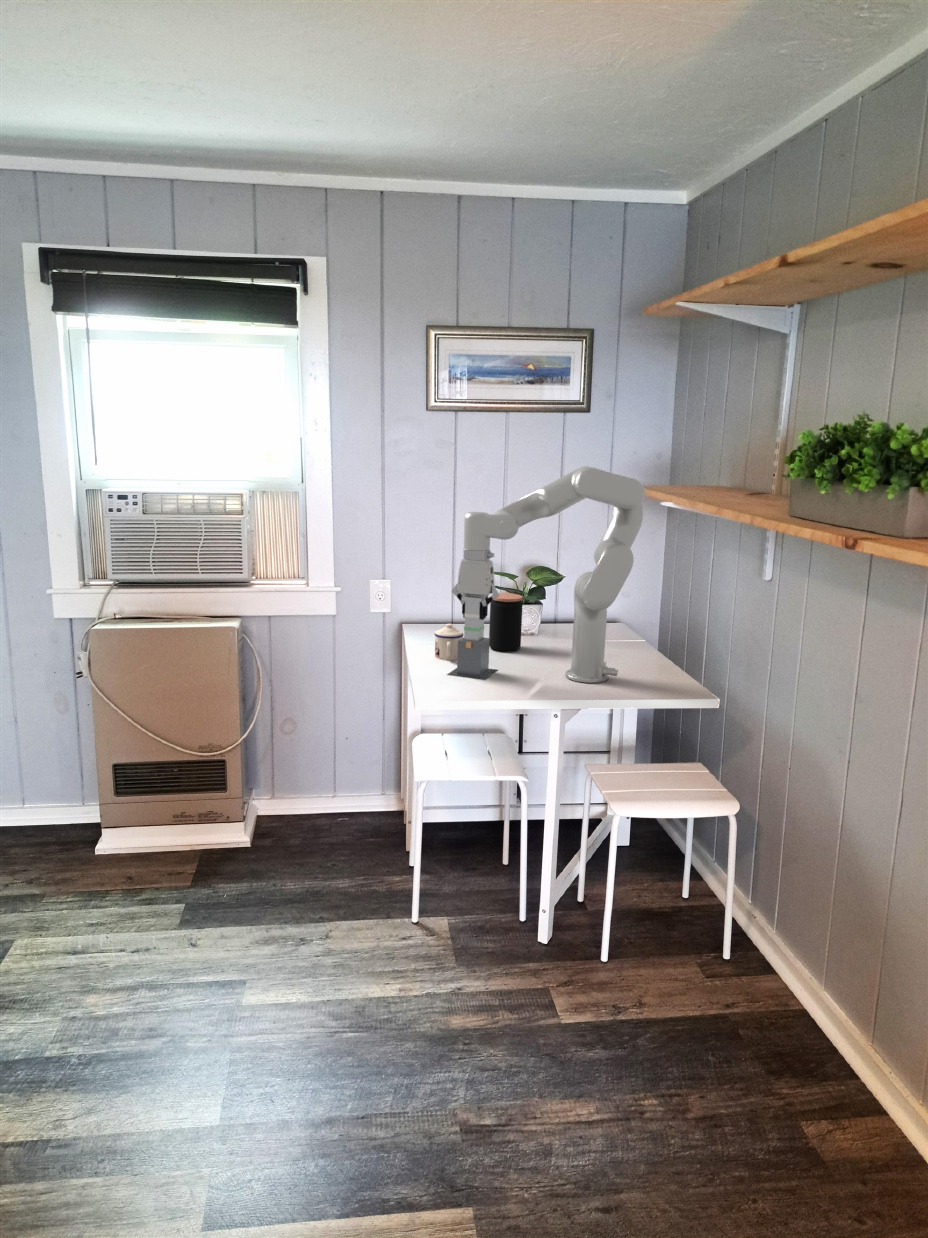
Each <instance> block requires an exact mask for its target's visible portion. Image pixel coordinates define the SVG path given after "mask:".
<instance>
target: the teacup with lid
mask: <svg viewBox="0 0 928 1238" xmlns="http://www.w3.org/2000/svg"><path fill="white" fill-rule="evenodd" d="M434 636H435V637H434V658H435V659H438V660H441V661H457V656H458V640H460V639H462V638H463V637H464V631H462V630H460V629H457V628H456V627H454V626H453V624H452V623H446V624H445V626H444V627H442V628H441V629H440V628H439V629H437V630H436V631H435V632H434Z"/></svg>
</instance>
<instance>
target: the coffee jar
mask: <svg viewBox="0 0 928 1238" xmlns="http://www.w3.org/2000/svg"><path fill="white" fill-rule="evenodd" d="M498 593H499V597H497V598H495V599H494V600H493V601H492V602H490V603H489V607H490V608H489V629H488V631H489V633H488V638H490V640H489V649H490V650H492V651H494V652H498V653H513V652H517V651H519V650H520V648H521V647H522V625H523V624H522V623H523V602H522V600H524V599H523V595H521V594H518V593H517V594H516V593H510V592H509V593H508V592H501V593H500V592H498ZM492 595H493V593H491V594H490V597H491V596H492Z"/></svg>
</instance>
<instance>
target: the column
mask: <svg viewBox="0 0 928 1238" xmlns="http://www.w3.org/2000/svg"><path fill="white" fill-rule="evenodd" d="M462 600H465V614H464V617H465V618H464V627H463V634H464V635H463V637H464V640H465V641H473V642H480V641H482V640H484V638H485V637H484V636H485V635H484V633H485V632H484V631H485V619H483V620H481V619H480V608H481V606H482V601H483V597H481V596H479V595H467V596H462Z"/></svg>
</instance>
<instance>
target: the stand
mask: <svg viewBox="0 0 928 1238" xmlns="http://www.w3.org/2000/svg"><path fill="white" fill-rule="evenodd" d="M489 640H490V638H489V637H484V640H482V641H480V642H473V641H465V640H464V636H463V638H462V639H460V640H458V656H457V660H456V661H457V662H456V665H457V666H456V668H454V669H453V670H452V671H450V672H448V673H447V674H446V676H452V677H458V678H459V677H460V678H467V679H474V680H482V681H486V680H487V679H489V678H490V677H491V676H493V675H494V674H495V673H496V672H498V671H499V669H493V668H489V664H490V663H489V662H490V646H489Z"/></svg>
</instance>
